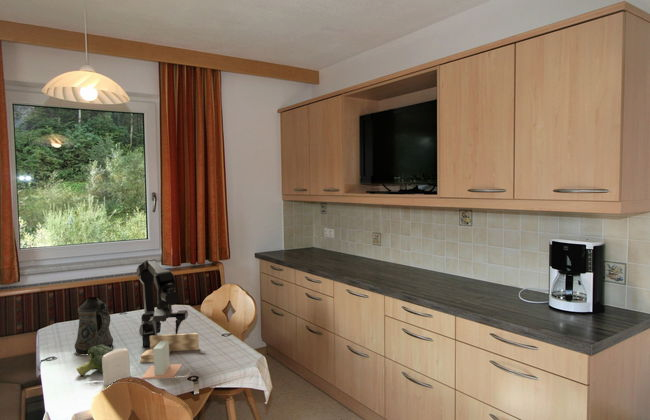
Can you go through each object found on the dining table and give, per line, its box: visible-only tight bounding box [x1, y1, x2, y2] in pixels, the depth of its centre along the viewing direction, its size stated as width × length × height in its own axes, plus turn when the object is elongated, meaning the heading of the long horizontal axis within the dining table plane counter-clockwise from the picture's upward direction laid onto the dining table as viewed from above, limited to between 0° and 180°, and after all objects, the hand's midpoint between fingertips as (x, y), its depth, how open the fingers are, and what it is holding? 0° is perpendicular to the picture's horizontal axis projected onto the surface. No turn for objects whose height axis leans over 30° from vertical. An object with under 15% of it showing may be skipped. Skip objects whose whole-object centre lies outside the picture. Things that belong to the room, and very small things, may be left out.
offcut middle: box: [139, 358, 154, 363], centre depth 195 cm, size 7×8×2 cm
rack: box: [149, 332, 200, 354], centre depth 198 cm, size 22×14×8 cm, turn 94°
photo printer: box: [102, 348, 131, 386], centre depth 175 cm, size 10×4×12 cm, turn 140°
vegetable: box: [76, 344, 114, 377], centre depth 183 cm, size 12×13×15 cm
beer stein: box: [73, 296, 114, 355], centre depth 210 cm, size 16×19×25 cm
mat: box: [141, 363, 183, 380], centre depth 182 cm, size 13×12×1 cm
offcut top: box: [140, 349, 154, 359], centre depth 195 cm, size 6×7×2 cm
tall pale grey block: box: [153, 341, 171, 375], centre depth 182 cm, size 4×9×11 cm, turn 4°
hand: (165, 334), depth 193 cm, fingers open, 9 cm apart
